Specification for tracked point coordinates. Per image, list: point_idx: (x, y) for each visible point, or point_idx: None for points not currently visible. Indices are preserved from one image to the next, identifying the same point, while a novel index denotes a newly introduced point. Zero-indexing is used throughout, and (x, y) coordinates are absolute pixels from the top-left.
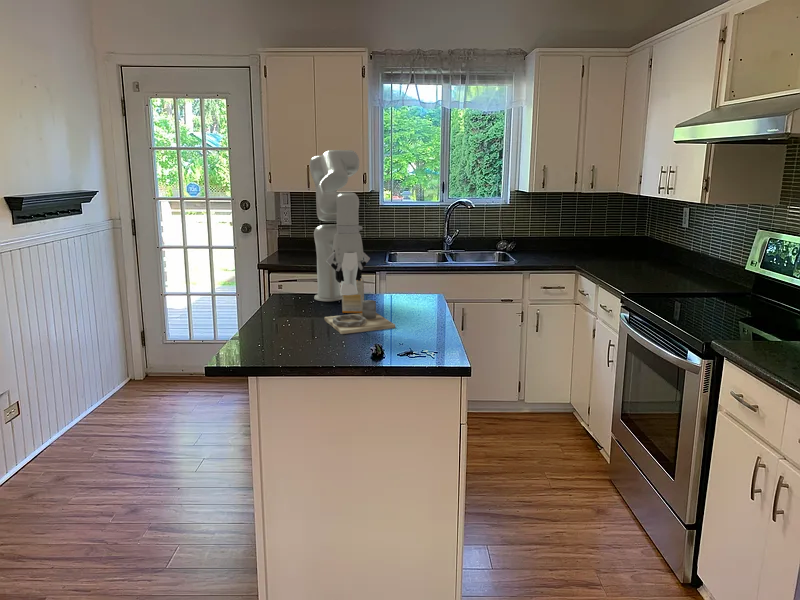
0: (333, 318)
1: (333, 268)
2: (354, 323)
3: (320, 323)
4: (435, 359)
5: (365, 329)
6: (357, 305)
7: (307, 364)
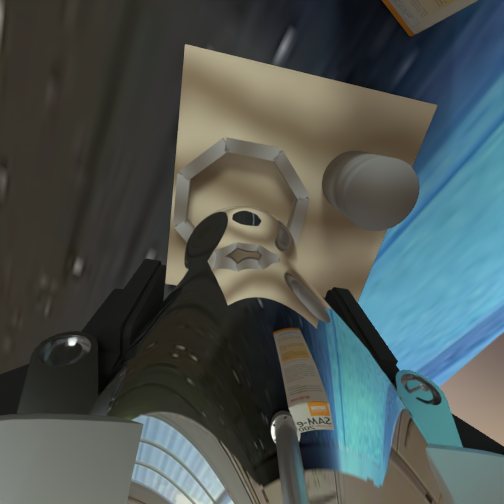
0: (181, 173)
1: (14, 371)
2: None
3: (150, 96)
4: None
5: None
6: (416, 1)
7: None
